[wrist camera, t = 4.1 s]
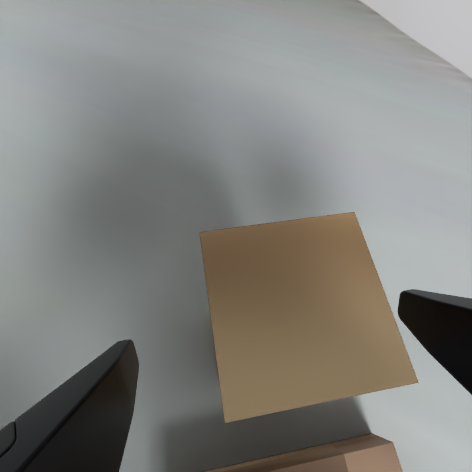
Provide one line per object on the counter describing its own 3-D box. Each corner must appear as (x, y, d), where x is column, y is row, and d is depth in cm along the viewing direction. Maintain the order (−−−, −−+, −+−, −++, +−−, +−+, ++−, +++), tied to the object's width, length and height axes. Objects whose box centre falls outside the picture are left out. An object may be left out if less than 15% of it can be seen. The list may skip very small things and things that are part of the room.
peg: (289, 372, 17) (418, 382, 6) (220, 386, 16) (224, 423, 6) (273, 303, 18) (354, 211, 8) (210, 314, 18) (199, 231, 7)
